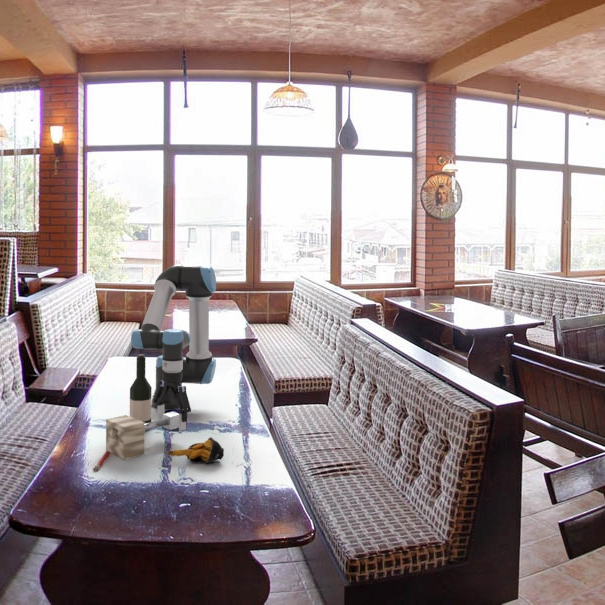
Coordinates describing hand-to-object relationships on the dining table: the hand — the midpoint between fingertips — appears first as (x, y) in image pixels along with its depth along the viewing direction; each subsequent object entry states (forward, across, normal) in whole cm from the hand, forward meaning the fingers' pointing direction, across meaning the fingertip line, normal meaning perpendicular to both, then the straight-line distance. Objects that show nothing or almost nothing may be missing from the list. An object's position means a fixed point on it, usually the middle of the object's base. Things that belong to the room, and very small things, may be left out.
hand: (171, 425), depth 235 cm
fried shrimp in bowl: (+6, +24, -7) cm, 25 cm away
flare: (+6, +3, -31) cm, 31 cm away
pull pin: (+1, 0, -10) cm, 10 cm away
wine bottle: (+6, -19, -1) cm, 20 cm away
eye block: (+6, 0, -20) cm, 21 cm away
